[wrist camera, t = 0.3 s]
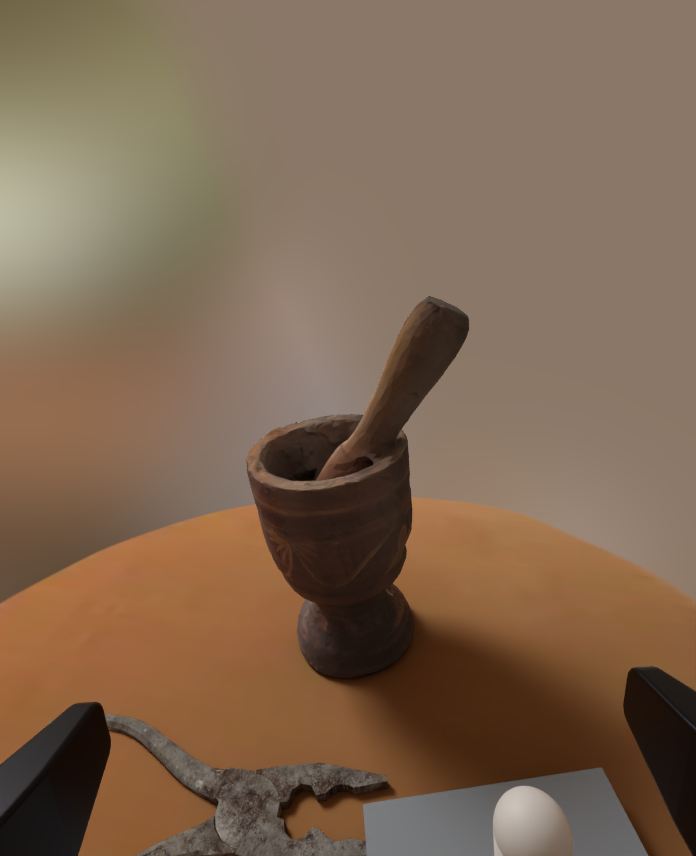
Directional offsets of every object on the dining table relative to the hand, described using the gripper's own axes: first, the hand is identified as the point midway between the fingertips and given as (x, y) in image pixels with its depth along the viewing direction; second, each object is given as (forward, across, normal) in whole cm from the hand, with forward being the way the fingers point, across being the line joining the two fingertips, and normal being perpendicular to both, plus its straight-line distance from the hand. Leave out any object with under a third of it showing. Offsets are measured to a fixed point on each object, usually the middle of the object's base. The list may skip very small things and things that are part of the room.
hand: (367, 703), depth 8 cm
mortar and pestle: (+19, -2, +14) cm, 24 cm away
